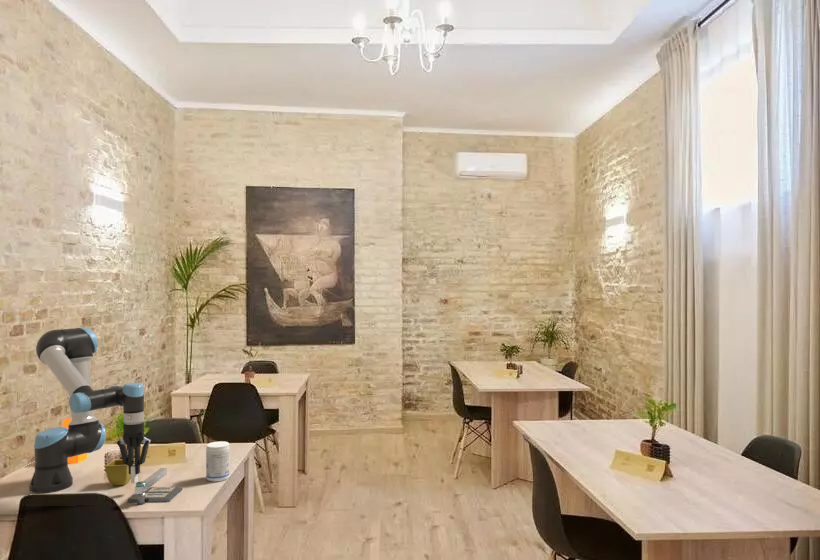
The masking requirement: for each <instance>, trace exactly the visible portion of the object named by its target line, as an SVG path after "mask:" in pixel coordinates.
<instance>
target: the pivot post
mask: <svg viewBox="0 0 820 560" xmlns="http://www.w3.org/2000/svg"><path fill="white" fill-rule="evenodd" d="M136 504H137V505H138V506H140V505H141V506H142V505H145V504H146V502H145V492H143V493H142V494H137V502H136Z"/></svg>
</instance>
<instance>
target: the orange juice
mask: <svg viewBox="0 0 820 560" xmlns="http://www.w3.org/2000/svg"><path fill="white" fill-rule="evenodd" d="M71 420H72V418H64V419H63V422H62V424H61V427H66V428H67V429H68V424H69V423H70V422H71ZM87 459H88V453H85V454H81V455H77V456H73V457H69V458H68V464H79V463H82V462H83V461H85V460H87Z"/></svg>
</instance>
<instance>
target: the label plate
mask: <svg viewBox="0 0 820 560" xmlns="http://www.w3.org/2000/svg"><path fill="white" fill-rule="evenodd" d="M182 491H183V486H161V487H160V486H155V487H153V486H151V487H150V488H148V489H147V490H146V491H145V503H164V502H165V503H166V502H167V503H169V502H171V501H172V500H173V499H174V498H175V497H176V496H177V495H178V494H180V493H181V492H182ZM126 501H127V503H137V494H135V493H133V494H132V495H131V496H130V497H128V498H127V499H126Z"/></svg>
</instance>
